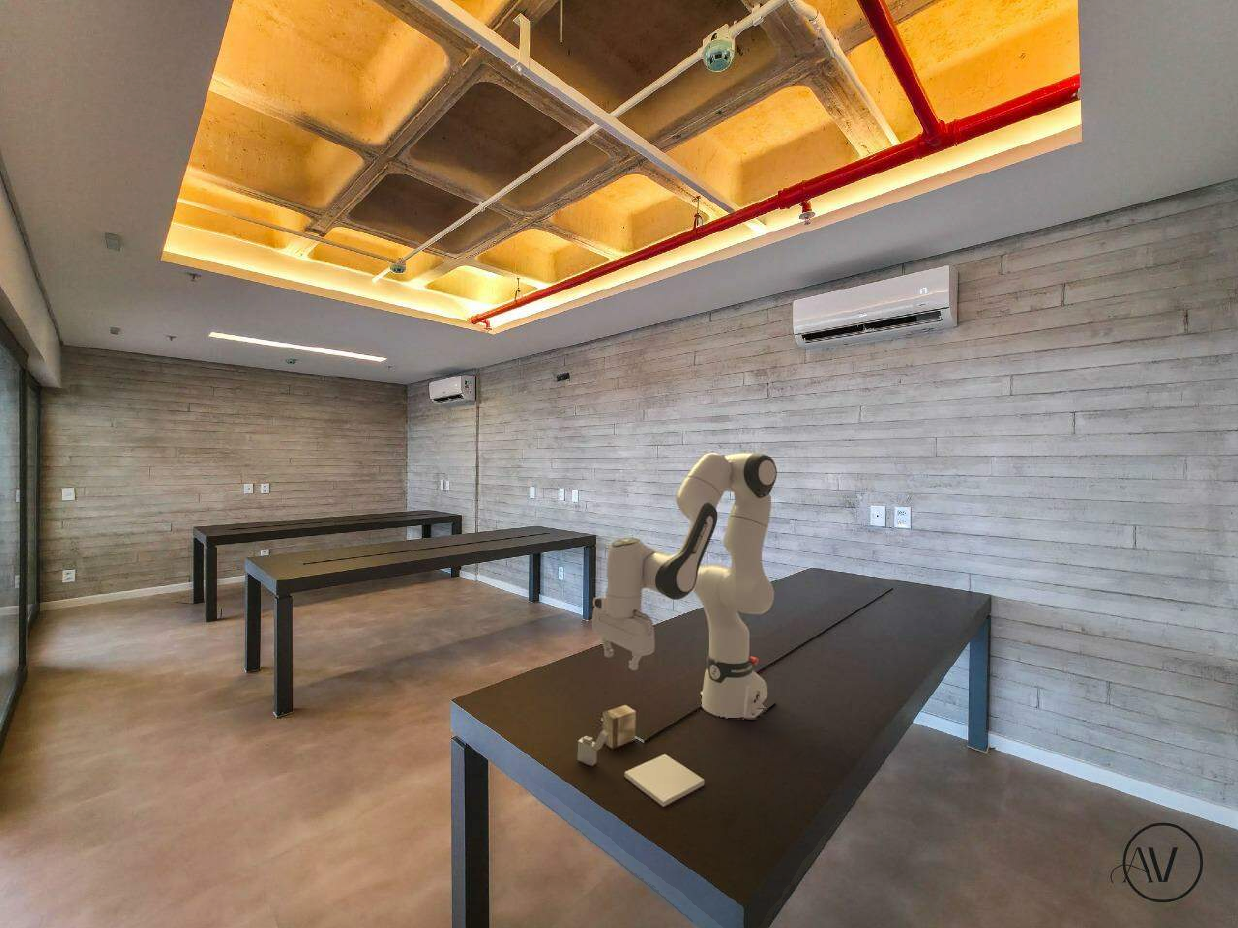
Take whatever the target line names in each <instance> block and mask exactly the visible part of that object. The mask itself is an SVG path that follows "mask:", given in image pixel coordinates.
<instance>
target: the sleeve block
mask: <svg viewBox="0 0 1238 928" xmlns="http://www.w3.org/2000/svg"><path fill="white" fill-rule="evenodd" d="M636 713H637V711H636V710H635V709H632V708H631V707H630V706H628V705H627V704H624V705H621V706H618V707H615V708H612V709H609V710H605V711H603V712H602V725H601V726H602V728H601V731H603V730H605V731H606V732H607V733H608V736H607V738H606V740H605V742H604V744H605V745H606V746H608V747H609V748H610V749H612V750H614V749H617V748H618V747H620V746H623V745H626V744H629V743H631V742H633V741H635V740H636V719H637V717H636V716H637V715H636Z"/></svg>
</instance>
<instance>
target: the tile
mask: <svg viewBox="0 0 1238 928" xmlns="http://www.w3.org/2000/svg"><path fill="white" fill-rule="evenodd" d="M624 778H625V779H627V780H628V781H630V783H632V784H633V785H634V786H636V787H637V788H639V790H641V791H642V792H644V793H645V794H646V795H647V796H648V797H650V798H651V799H653V800H654V801H655V802H656V803H657V804H659V805H660V806H661V807H663V808H665V807H666V806H668V805H670V804H672V803H673V802H675V801H677V800H680V799H681V798H682V797H684V796H686V795H688V794H690V793H692V792H694V791H695V790H697V789H699V788H701V787H703V786H705V779H704V778H702V777H700V776H699V775H697V773H695V772H693V771H692V770H690V769H688V768H687V767H685V766H684V765H683V764H682V763H679V762H678V761H677V760H675V759H673V758H672V757H670V756H669V755H667V754H666V753H664V754H661V755H659V756H657V757H655V758H652V759H650V760H648V761H646V762H644V763H641V764H639V765H637V766H635V767H633V768H631V769H628V770H626V771H624Z"/></svg>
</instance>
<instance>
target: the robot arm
mask: <svg viewBox="0 0 1238 928" xmlns="http://www.w3.org/2000/svg"><path fill="white" fill-rule="evenodd" d="M777 475H778V471H777V467H776V464H775V462H774V459H773V458H772V457H771V456H770V455H769V456H768V455H766V454H762V453H755V452H754V453H744V452H743V453H741V452H739V453H736V454H728V455H727V454H724V455H723V454H720V453H715V452H709V453H706V454H704V455H703V456H702V457H700V458H699V460H698V461H697V462H696V463H695V464H694V465H693V467H691V469H690V470H689V472H687V474H686V476H685V478H684V479H683V481H682V482H681V484H680V486H679V487H678V489H677V492H676V496H675V499H676V501H675V502H676V505H677V507H678V509H679V511H680V512H681V513H682V515H684V516H685V517H686V518H687V519H688V520H689V521H690V524H689V528H688V529H687V532H686V534H685V537H684V539H683V541H682V544H681V545H680V549H679V550H678V551H677V552H675V553H673V554H669V553H665V552H662V551H658V550H656V549H653V548H651V547H650V546H647V545H646V544H644V543H643V542H642V540H641V539H639V538H636V537H624V538H623V537H622V538H619V539H617V540H616V539H615V540H614V541H613V542H612V543H611V545H610V548H609V551H608V555H607V563H606V578H607V586H606V590H605V595H604V596H602V595H601V596H598V597H597V596H596V597H594V598H593V599H592V606H593V607H594V608H593V609H592V615H591V616H592V617H591V628H592V632H593V634H594V635H597V636H598V637H601V642H602V646H603V649H604V653H603V655H604V656H605V657H606V658H612V657H614V650H615V649H613V648H612V643H613V644H615V645H618V646H620V647H622V648H624V649H626V650H628V651H630V652H631V656H632V658H631V660H628V668H629V669H630V670H632V671H636V670H638V669H639V662H640V661H641V658H642V657H645V656H649V655H652V654H653V652H654V651H655V642H656V641H655V629H654V624H653V620H652V619H651V618H650V616H649V615H650V614H648V613H646V612H645V613H643V612H642V601H643V600H642V599H643V591H642V590H644V589H649V590H650V591H654V592H656V593H659V594H661V595H663V596H665V597H667V598H669V599H670V600H674V601H675V600H676V601H678V600H681V599H684V598H686V597H687V596H688V595H689V594H690V593H691V592H692V591H693V592H694V593H695V595H696V596H697V597H698V599H699V601H700V602H701V604H702V608H703V609H704V612H705V615H706V619H707V625H708V653H707V656H706V657H707V658H706V670H705V673H704V680H703V690H702V691H700V694H701V695H702V698H701V701H702V705H701V707H702V708H703V710H704V711H706V712H707V713H709V714H711V715H713V716H716V717H719V716H720V717H719V718H722V717H725V718H724V719H728V718H739V717H744V718H755V717H756V716H757V715H759V714H760V713H761V712H762V711H763V709H758V708H766V707H764V705H763V704H762V703H763V702H764V701H765V699H766V698H767V694H768V687H767V686H768V685H767V682H766V681H765V680H764V679H763V678H762V677H761V675H759V674H758V673H757V672H755V671H754V669H753V665H754V666H757V665H758V664H759V658H758V657H754V656H752V655H751V656H750V631H749V628H748V627H747V625H746V623H744V622H743V620H742V619H741V617H740V615H739V613H738V612H740V613H743V614H747V615H748V614H749V615H750V614H752V615H762V614H765V613H767V612H768V610H770V609H771V607H772V606H773V602H774V600H775V592H774V588H773V585H772V583H771V582H770V580H769V579H768V577H767V576H766V575H767V574H766V573H765V569H764V565H763V548H764V544H765V539H766V535H767V531H768V526H769V522H770V517H771V508H772V497H771V494H770V493H771V491H772V489H773V487H774V485H775V483H776V480H777ZM725 491H727V492H731V493H732V492H733V493H734V503H733V505H732V508H731V511H730V514H729V516H728V521H727V525H726V529H725V533H724V536H723V540H722V541H723V542H722V543H723V546H724V548H725V549H726V551H727V552H728V553H729V554H730V559H731V565H730V566H731V567H728V566H724V565H720V564H703V565H701V564H702V561H703V558H704V557H705V553H706V551H707V548H708V546H709V545H710V542H711V539H712V537H713V533H714V531H715V529H716V526H717V523H718V515H719V514H718V512H717V506H718V504H719V502H721V501H720V500H721V499H722V497H723V495H724V493H725ZM611 642H612V643H611ZM752 714H755V715H752Z"/></svg>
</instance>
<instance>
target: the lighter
mask: <svg viewBox="0 0 1238 928" xmlns="http://www.w3.org/2000/svg"><path fill="white" fill-rule="evenodd" d="M607 736H608V733H607V732H606V731H605V730H603V731H602V730H601V731H600V733H598V736H597V738H596V740H595V741H593V737H592V736H591V737H590V736H588V735H585V736H582V737H581V738H580V739H578V741H577V742H578V743H577V761H579V762H581V763H583V764H586V765H589V766H592V767H593V766H594V765H596V764H597V751H599V750H600V749H602V747H603V746H604V744H605V743H604V742H605V740H606V738H607Z"/></svg>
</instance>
